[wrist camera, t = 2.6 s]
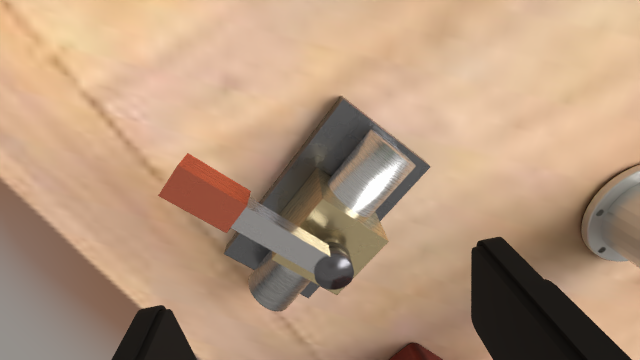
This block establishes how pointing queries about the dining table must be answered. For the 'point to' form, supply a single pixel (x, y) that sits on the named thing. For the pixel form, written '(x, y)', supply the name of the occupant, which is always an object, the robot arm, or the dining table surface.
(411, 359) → the plant pot
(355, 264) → the valve body
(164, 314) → the robot arm
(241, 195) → the valve lever
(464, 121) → the dining table surface
